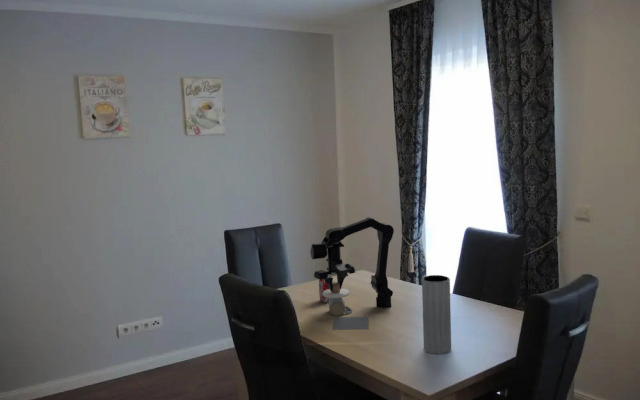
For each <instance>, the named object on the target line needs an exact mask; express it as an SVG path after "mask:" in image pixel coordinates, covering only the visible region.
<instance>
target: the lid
mask: <svg viewBox="0 0 640 400" xmlns="http://www.w3.org/2000/svg"><path fill="white" fill-rule="evenodd" d="M332 286H333V291H332V292H331V291H330V289H328V290H325V291H323V296H324V297H327V298H345V297H348V296H349V294H350V291H349V290H348V289H347V288H341V290H340V283H338V281H337V282H335V281H334V282H333V283H332Z"/></svg>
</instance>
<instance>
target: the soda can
mask: <svg viewBox="0 0 640 400" xmlns="http://www.w3.org/2000/svg"><path fill="white" fill-rule="evenodd" d="M333 281H334V280H332V283H334V282H333ZM328 289H329V287H328V285H327V283H326V281H325V280H324V279H322V280H320V279H318V291H319V292H318V293H319V301H321V302H322V303H328V302H329V300H330V298H327V297H324V296H323V291H325V290H328Z"/></svg>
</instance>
